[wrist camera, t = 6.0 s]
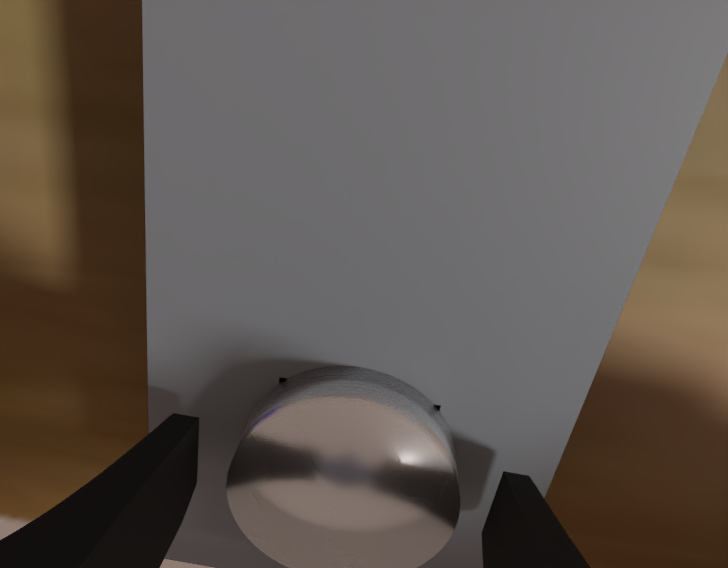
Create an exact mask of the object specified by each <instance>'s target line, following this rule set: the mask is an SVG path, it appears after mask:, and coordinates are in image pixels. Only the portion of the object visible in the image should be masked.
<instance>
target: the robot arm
mask: <svg viewBox="0 0 728 568" xmlns="http://www.w3.org/2000/svg"><path fill="white" fill-rule="evenodd" d="M198 444H199V417H193V416H187V415H181V414H176V413H173V414H172V415H170V416H169V417H168V418H166V419H165V420H164V421H163V422H162V423H161V424H160V425H158V426H157V427H156V428H155V429H154V430H153V431H152V432H150V433H149V434H148V435H147V436H146V437H145V438H143V439H142V440H141V441H140V442H139V443H137V444H136V445H135V446H134V447H133V448H132V449H130V450H129V451H128V452H127V453H125V454H124V455H123V456H122V457H120V458H119V459H118V460H117V461H115V462H114V463H113V464H112V465H110V466H109V467H108V468H107V469H105V470H104V471H103V472H102V473H100V474H99V475H98V476H96V477H95V478H94V479H92V480H91V481H90V482H88V483H87V484H86V485H84V486H83V487H81V488H80V489H79V490H77V491H76V492H75V493H73V494H72V495H70V496H69V497H68V498H66V499H65V500H63V501H62V502H61V503H59V504H58V505H56V506H55V507H53V508H52V509H50V510H49V511H47V512H46V513H44V514H43V515H41V516H40V517H38V518H36V519H35V520H33V521H32V522H30V523H28V524H27V525H25V526H24V527H22V528H20V529H19V530H17V531H16V532H14V533H12V534H10V535H9V536H7V537H5V538H3V539H2V540H0V568H159V567H160V565H161V564H162V562H163V560H164V558H165V556H166V554H167V552H168V550H169V548H170V546H171V544H172V542H173V540H174V538H175V536H176V534H177V532H178V530H179V528H180V526H181V524H182V521H183V519H184V516H185V514H186V511H187V509H188V506H189V503H190V501H191V498H192V495H193V492H194V490H195V487H196V484H197V472H198ZM482 555H483V568H590V566H589V565H588V563H587V562H586V561H585V559H584V558H583V556H582V555H581V553H580V552H579V550H578V549H577V548H576V546H575V545H574V543H573V542H572V540H571V539H570V537H569V536H568V534H567V533H566V531H565V530H564V528H563V527H562V525H561V524H560V522H559V521H558V519H557V518H556V516H555V515H554V513H553V512H552V510H551V508H550V507H549V505H548V504H547V502H546V501H545V499H544V498H543V496H542V494H541V493H540V491H539V490H538V488H537V487H536V485H535V484H534V482H533V481H532V479H531V478H530V476H528V475H522V474H517V473H511V472H505V471H503V474H502V477H501V479H500V482H499V485H498V488H497V491H496V493H495V496H494V499H493V502H492V505H491V507H490V510H489V513H488V516H487V519H486V521H485V524H484V527H483V530H482Z"/></svg>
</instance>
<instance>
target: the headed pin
mask: <svg viewBox="0 0 728 568" xmlns="http://www.w3.org/2000/svg"><path fill="white" fill-rule="evenodd" d="M226 490H227V499H228V503H229V507H230V510H231V512H232V515H233V517H234V519H235V521H236V523H237V524H238V526H239V528H240V529H241V531H242V532H243V533H244V534H245V535H246V537H247V538H248V539H249V540H250V541H251V542H252V543H253V544H254V545H255V546H256V547H257V548H258V549H259V550H261V551H262V552H263V553H265V554H266V555H267V556H269V557H270V558H272V559H273V560H275V561H277V562H278V563H280V564H282V565H284V566H286V567H288V568H417V567H419V566H421V565H423V564H424V563H425V562H427V561H428V560H430V559H431V558H432V557H434V556H435V555H436V554H437V553H438V552H439V551H440V550H441V549H442V548H443V547H444V545H445V544H446V543H447V542H448V540H449V539H450V537H451V535H452V534H453V532H454V530H455V527H456V525H457V522H458V519H459V513H460V490H459V481H458V472H457V463H456V454H455V446H454V441H453V436H452V434H451V431H450V428H449V426H448V424H447V422H446V420H445V418H444V417H443V415H442V414H441V412H440V411H439V410H438V408H437V407H436V406H435V405H434V404H433V403H432V402H431V401H430V400H429V399H428V398H427V397H426V396H425V395H424V394H423V393H421V392H420V391H419V390H417V389H416V388H415V387H413V386H411V385H410V384H408V383H406V382H404V381H403V380H401V379H398V378H396V377H394V376H391V375H389V374H386V373H383V372H380V371H376V370H372V369H367V368H362V367H352V366H330V367H323V368H316V369H312V370H308V371H305V372H301V373H299V374H296V375H294V376H291V377H289V378H287V379H286V380H284V381H282V382H280V383H279V384H277V385H276V386H275V387H273V388H272V389H271V390H269V391H268V392H267V393H266V394H265V395H264V396H263V397H262V398H261V399H260V401H259V402H258V404H257V405H256V406H255V408H254V409H253V411H252V413H251V415H250V418H249V420H248V422H247V425H246V427H245V429H244V432H243V434H242V437H241V439H240V442H239V444H238V446H237V449H236V451H235V454H234V456H233V459H232V461H231V464H230V467H229V471H228V474H227V483H226Z"/></svg>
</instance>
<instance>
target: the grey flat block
mask: <svg viewBox="0 0 728 568" xmlns="http://www.w3.org/2000/svg"><path fill="white" fill-rule="evenodd" d="M142 34H143V100H144V167H145V234H146V300H147V367H148V434H149V433H150V432H152V431H153V430H154V429H155V428H156V427H157V426H158V425H160V424H161V423H162V422H163V421H164V420H165V419H166V418H168V417H169V416H170V415H172V414H173V413H176V414H181V415H187V416H193V417H199V444H198V472H197V484H196V487H195V490H194V492H193V495H192V498H191V501H190V503H189V506H188V509H187V511H186V514H185V516H184V519H183V521H182V524H181V526H180V528H179V530H178V532H177V534H176V536H175V538H174V540H173V542H172V544H171V546H170V548H169V550H168V552H167V554H166V556H165V558H164V559H170V560H175V561H181V562H187V563H193V564H198V565H204V566H210V567H215V568H288V567H286V566H284V565H282V564H280V563H278V562H277V561H275V560H273V559H272V558H270V557H269V556H267V555H266V554H265V553H263V552H262V551H261V550H259V549H258V548H257V547H256V546H255V545H254V544H253V543H252V542H251V541H250V540H249V539H248V538H247V537H246V535H245V534H244V533H243V532H242V531H241V529H240V528H239V526H238V524H237V523H236V521H235V519H234V517H233V515H232V512H231V510H230V507H229V503H228V499H227V490H226V483H227V474H228V471H229V467H230V464H231V461H232V459H233V456H234V454H235V451H236V449H237V446H238V444H239V442H240V439H241V437H242V434H243V432H244V429H245V427H246V425H247V422H248V420H249V418H250V415H251V413H252V411H253V409H254V408H255V406H256V405H257V404H258V402H259V401H260V399H261V398H262V397H263V396H264V395H265V394H266V393H267V392H268V391H269V390H271V389H272V388H273V387H275V386H276V385H277V384H279V383H280V382H282V381H284V380H286V379H287V378H289V377H291V376H294V375H296V374H299V373H301V372H305V371H308V370H312V369H316V368H323V367H330V366H352V367H362V368H367V369H372V370H376V371H380V372H383V373H386V374H389V375H391V376H394V377H396V378H398V379H401V380H403V381H404V382H406V383H408V384H410V385H411V386H413V387H415V388H416V389H417V390H419V391H420V392H421V393H423V394H424V395H425V396H426V397H427V398H428V399H429V400H430V401H431V402H432V403H433V404H434V405H435V406H436V407H437V408H438V410H439V411H440V412H441V414H442V415H443V417H444V418H445V420H446V422H447V424H448V426H449V428H450V431H451V434H452V436H453V441H454V446H455V454H456V463H457V472H458V481H459V490H460V513H459V519H458V522H457V525H456V527H455V530H454V532H453V534H452V535H451V537H450V539H449V540H448V542H447V543H446V544H445V545H444V547H443V548H442V549H441V550H440V551H439V552H438V553H437V554H436V555H435V556H434V557H432V558H431V559H430V560H428V561H427V562H425V563H424V564H423V565H421V566H419V567H417V568H483V555H482V530H483V527H484V524H485V521H486V519H487V516H488V513H489V510H490V507H491V505H492V502H493V499H494V496H495V493H496V491H497V488H498V485H499V482H500V479H501V477H502V474H503V471H505V472H511V473H517V474H522V475H528V476H530V478H531V479H532V481H533V482H534V484H535V485H536V487H537V488H538V490H539V491H540V493H541V494H542V496H543V498H545V496H546V493H547V491H548V488H549V486H550V484H551V481H552V479H553V476H554V474H555V471H556V469H557V467H558V464H559V462H560V459H561V457H562V454H563V452H564V450H565V447H566V445H567V442H568V440H569V437H570V435H571V433H572V430H573V428H574V425H575V423H576V420H577V418H578V416H579V413H580V411H581V408H582V406H583V403H584V401H585V399H586V396H587V394H588V391H589V389H590V386H591V384H592V382H593V379H594V377H595V374H596V372H597V369H598V367H599V365H600V362H601V360H602V357H603V355H604V352H605V350H606V348H607V345H608V343H609V340H610V338H611V335H612V333H613V331H614V328H615V326H616V323H617V321H618V318H619V316H620V313H621V311H622V309H623V306H624V304H625V301H626V299H627V296H628V294H629V292H630V289H631V287H632V284H633V282H634V279H635V277H636V275H637V272H638V270H639V267H640V265H641V262H642V260H643V258H644V255H645V253H646V250H647V248H648V245H649V243H650V241H651V238H652V236H653V233H654V231H655V228H656V226H657V224H658V221H659V219H660V216H661V214H662V211H663V209H664V207H665V204H666V202H667V199H668V197H669V194H670V192H671V190H672V187H673V185H674V182H675V180H676V177H677V175H678V173H679V170H680V168H681V165H682V163H683V160H684V158H685V156H686V153H687V151H688V148H689V146H690V143H691V141H692V139H693V136H694V134H695V131H696V129H697V126H698V124H699V122H700V119H701V117H702V114H703V112H704V109H705V107H706V105H707V102H708V100H709V97H710V95H711V92H712V90H713V88H714V85H715V83H716V80H717V78H718V75H719V73H720V71H721V68H722V66H723V63H724V61H725V58H726V56H727V54H728V0H142Z"/></svg>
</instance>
